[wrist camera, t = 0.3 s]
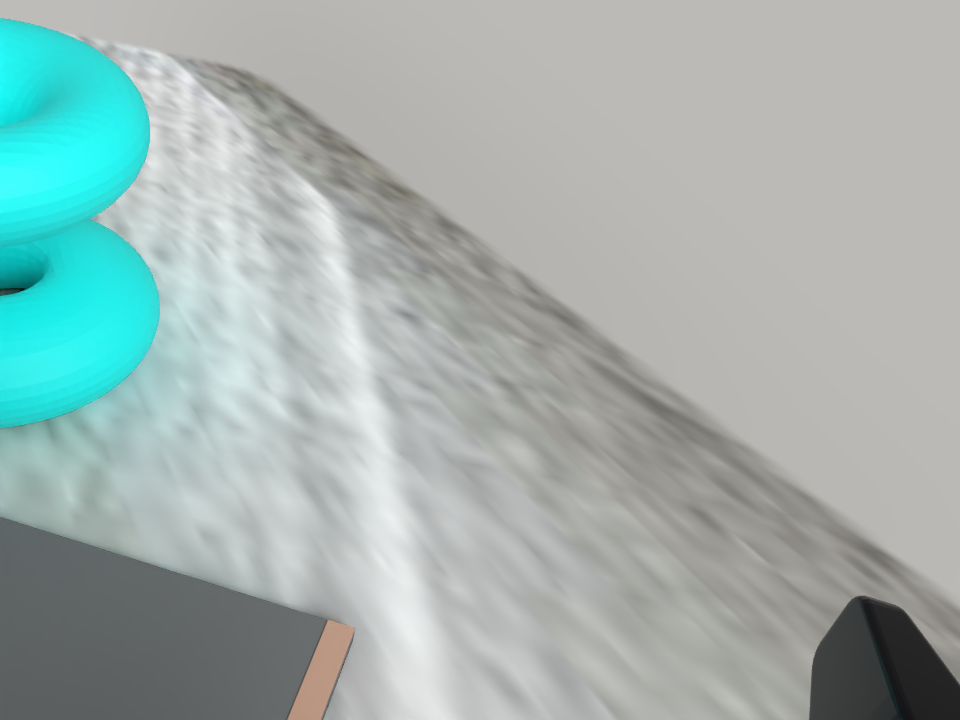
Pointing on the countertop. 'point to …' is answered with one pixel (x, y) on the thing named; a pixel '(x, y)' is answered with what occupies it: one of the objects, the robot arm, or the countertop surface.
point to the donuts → (67, 225)
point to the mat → (149, 641)
